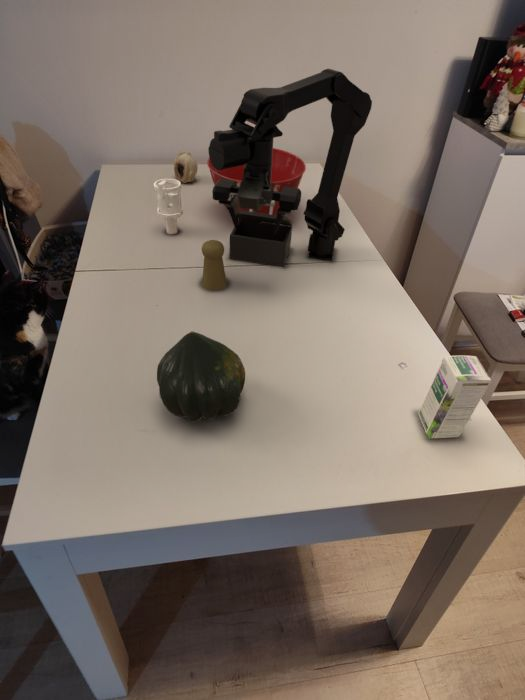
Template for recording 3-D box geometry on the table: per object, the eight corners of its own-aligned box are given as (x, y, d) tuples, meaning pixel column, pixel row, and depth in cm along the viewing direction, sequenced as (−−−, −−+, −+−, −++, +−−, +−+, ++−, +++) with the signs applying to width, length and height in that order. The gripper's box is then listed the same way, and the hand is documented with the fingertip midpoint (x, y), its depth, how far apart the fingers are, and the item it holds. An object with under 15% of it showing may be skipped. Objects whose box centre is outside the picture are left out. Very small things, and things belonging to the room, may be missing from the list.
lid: (288, 220, 107) (291, 200, 107) (230, 212, 109) (232, 193, 109) (292, 226, 118) (295, 208, 117) (238, 218, 119) (241, 201, 119)
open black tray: (283, 267, 115) (286, 243, 111) (229, 258, 117) (229, 235, 113) (290, 249, 122) (292, 226, 118) (238, 241, 124) (238, 219, 120)
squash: (229, 433, 69) (241, 336, 68) (137, 419, 70) (148, 325, 70) (244, 419, 83) (254, 339, 83) (168, 408, 85) (177, 330, 84)
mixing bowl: (319, 220, 136) (326, 169, 126) (240, 243, 124) (241, 189, 113) (266, 187, 153) (269, 140, 143) (192, 205, 140) (189, 154, 130)
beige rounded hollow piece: (177, 183, 158) (171, 153, 154) (201, 179, 158) (195, 149, 154) (174, 185, 149) (167, 153, 145) (199, 181, 149) (193, 149, 145)
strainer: (154, 234, 125) (147, 181, 115) (167, 223, 130) (162, 172, 120) (176, 239, 124) (171, 186, 114) (189, 229, 128) (185, 177, 118)
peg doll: (222, 292, 106) (222, 251, 98) (198, 288, 107) (195, 247, 99) (229, 278, 110) (229, 238, 103) (206, 275, 111) (204, 234, 104)
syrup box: (416, 413, 80) (441, 354, 71) (447, 412, 81) (477, 354, 71) (427, 439, 76) (456, 380, 66) (460, 438, 77) (493, 379, 67)
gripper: (203, 169, 87) (206, 241, 98) (296, 180, 85) (289, 253, 95) (219, 150, 95) (220, 219, 106) (305, 161, 93) (297, 230, 103)
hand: (255, 230), depth 102 cm, fingers open, 9 cm apart
